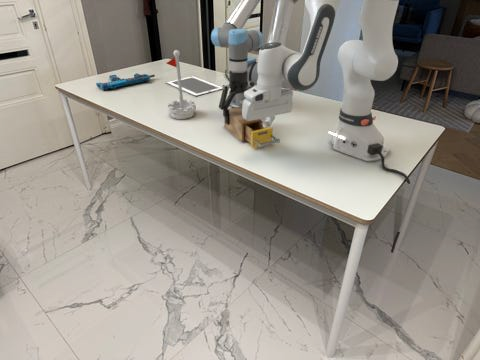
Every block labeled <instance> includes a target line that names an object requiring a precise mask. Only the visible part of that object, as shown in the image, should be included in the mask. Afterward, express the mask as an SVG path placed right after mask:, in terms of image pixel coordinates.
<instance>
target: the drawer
mask: <svg viewBox="0 0 480 360" xmlns="http://www.w3.org/2000/svg"><path fill="white" fill-rule="evenodd" d="M273 130H274V128H273V127H272V126H271V127H267V128H264V127H263V123H262V122H256V123H252V124H247V125H244V138H245V139H246V140H247V141H246V142H248V143H249V144H250V147H251V148H256V147H259V148H262V147H266V146H271V145H274V144H275V145H276V144H279V143H281V139H280V138H277V137H276V136H274V135H273Z"/></svg>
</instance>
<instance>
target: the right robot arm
mask: <svg viewBox="0 0 480 360" xmlns="http://www.w3.org/2000/svg"><path fill="white" fill-rule="evenodd" d="M340 2H341V0H304V6H305V9H306V12H307V13H308V16H309V20H310V28H309V31H308V35H307V38H306V41H305V43H304V47H303V50H302V52H299V51H296V50H292V49H290V48H289V47H287V46H286V45H285V46H283V45H282V44H281V43H279V42H271V43H267V42H266V43H265V44H262V46H261V47H260V48H259V51H258V55H257V62H258V64H257V72H258V80H257V85H255V86H254V87H252V88H250V89H249V90H247V91H245V92H244V97H246V98H245V99H244V101H243V106H242V117H243V118H244V119H245V120H247V121H252V120H256V119H261V120H262V122H263V127H264V128H267V127H268V128H269V127H272V126H273V122H274V120H275V118H276V116H280V115H284V114H288V113H292V111H293V109H294V101H293V99H294V98H293V94H294V91H293V89H294V90H296V91H298V92H299V91H300V92H303V91H308V90H309V89H311V88H312V87H314V86H315V85H316V83H317V82H318V81H319V78H320V73H321V62H322V58H323V55H324V52H325V49H326V47H327V44H328V41H329V39H330V36H331V33H332V29H333V26H334V22H335V18H336V14H337V10H338V7H339V5H340ZM399 2H400V0H362V5H361V8H360V13H359V18H358V26H359V28H360V29H361V34H362V40H361V39H351V40H349V39H348V40H347V41H345V42H344V43H342V44H341V46H340V47H339V48H338V52H337V61H338V63H339V65H340V67H341V71H342V80H343V95H342V103H341V108H340V109H339V113H338V122H337V123H338V124H337V127H336V130H335V132H332V131H328V134H330V135H332V136H333V137H332V139H331V144H332V149H333V150H334V151H336V152H340V153H343V154H344V155H345V154H346V155H348V156H351V157H354V158H356V159H359V160H361V161H365V162H374V161H379V160H380V161H381V168H382V169H383V170H385V171H386V172H393V173H395V174H398V175H400V176H402V177H403V178H404V179H405V181H406V183H407V184H408V185H410V184H411V181H410V179H409V176H408V175H407V174H406V173H404V172H402V171H400V170H397V169H394V168H388V167H386V165H385V164H386V163H385V157H387V155H388V154H389V152H390V150H389V148H387V147H386V146H385V138H384V135H383V134H382V133H381V131H379V128H377V126H376V125H375V124H374V121H375V120H376V119H377V116H373V113H372V109H373V104H374V100H375V95H376V94H375V93H376V92H375V89H374V87H373V85H372V82H371V81H379V82H384V81H387V80H389V79H390V78H391V77H393V76H394V74H395V73H396V71H397V68H398V65H399V58H398V55H397V54H396V52H395V49H394V44H393V43H394V42H393V29H394V28H393V27H394V21H395V18H396V14H397V10H398V6H399V4H400V3H399ZM283 80H285V81H287V82H288V84H290V86H291V87H292V88H293V89H292V88H291V87H285V88H283V87H282V86H283V85H282V81H283ZM267 118H268V120H267ZM266 120H267V121H266ZM400 234H401V231H396V235H395V237H394V239H393V243H392V246H391V249H390V253H391V254H393V253H394V250H395V248H396V245H397V242H398V239H399V236H400Z"/></svg>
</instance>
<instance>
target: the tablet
mask: <svg viewBox="0 0 480 360" xmlns="http://www.w3.org/2000/svg"><path fill="white" fill-rule="evenodd" d="M165 84H167V85H170V86H172V87H174V88H177V89H179V88H178V79H174V80H170V81H167V82H166V81H165ZM181 85H182V92H186V93H188V94H189V95H192V96H194V97H198V96H202V95H206V94H210V93H213V92H217V91H221V90H223V87H222V86H220V85H218V84H215V83H212V82H210V81H207V80H205V79H202V78H200V77H198V76H193V75H191V76H189V77H184V78H181Z"/></svg>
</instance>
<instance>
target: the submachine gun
mask: <svg viewBox="0 0 480 360" xmlns="http://www.w3.org/2000/svg"><path fill="white" fill-rule="evenodd" d="M154 77H156V75H155V74H150V75H149V74H146V73H142V74H140V73H135V74H133V77H129V78H121V77H119V76H117V75H116V74H112V75H109V79H110V80H111V81H108V82H96V83H95V84H96V85H95V86H96V87H97V88H99V89H100V90H101V91H103V90H108V89H110V90H112V89H113V90H116V88H120V87H123V86H128V85H133V84H138V83H143V82H148V81H149V80H150V79H151V78H154Z"/></svg>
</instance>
